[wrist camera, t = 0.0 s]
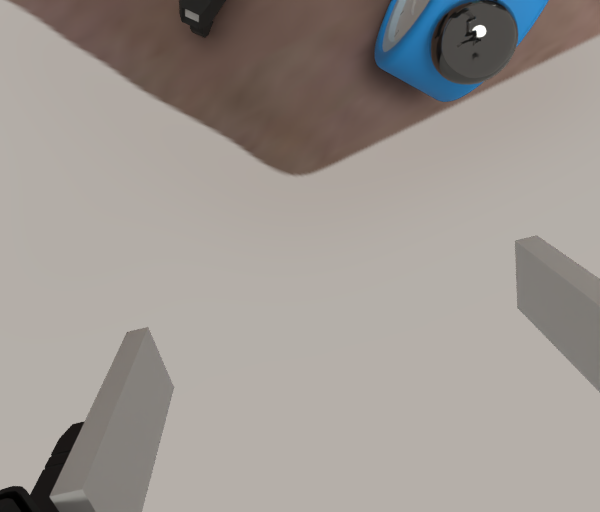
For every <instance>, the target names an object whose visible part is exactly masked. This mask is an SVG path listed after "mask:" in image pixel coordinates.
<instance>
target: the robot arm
mask: <svg viewBox="0 0 600 512" xmlns="http://www.w3.org/2000/svg"><path fill="white" fill-rule="evenodd" d="M515 254H516V280H517V307H518V309H519V310H520V311H521V312H522V313H523V314H524V315H525V316H526V317H527V318H528V319H529V320H530V321H531V322H532V323H533V324H534V325H535V326H536V327H537V328H538V329H539V330H540V331H541V332H542V333H543V334H544V335H545V336H546V338H547V339H548V340H549V341H551V343H552V344H553V345H554V346H555V347H556V348H557V349H558V350H559V351H560V352H561V353H562V354H563V355H564V356H565V357H566V358H567V359H568V360H569V361H570V362H571V363H572V364H573V365H574V366H575V367H576V368H577V369H578V370H579V371H580V372H581V374H582V375H583V376H585V378H586V379H587V380H588V381H589V382H590V383H591V384H592V385H593V386H594V387H595V388H596V389H597V390H598V391H599V392H600V279H599V278H598V277H596V276H595V275H593V274H592V273H590V272H589V271H587V270H586V269H584V268H583V267H581V266H580V265H579V264H577V263H576V262H574V261H573V260H572V259H570V258H569V257H567V256H566V255H564V254H563V253H561V252H560V251H558V250H557V249H556V248H554V247H553V246H551V245H550V244H548V243H547V242H545V241H544V240H543V239H541V238H540V237H538V236H533V237H529V238H524V239H520V240H516V241H515ZM173 389H174V386H173V384H172V382H171V379H170V377H169V375H168V372H167V370H166V368H165V365H164V363H163V361H162V358H161V357H160V354H159V351H158V349H157V347H156V345H155V342H154V340H153V338H152V335H151V333H150V331H149V328H148V327H147V328H143V329H138V330H134V331H130V332H127V333H126V336H125V338H124V340H123V342H122V344H121V346H120V348H119V351H118V352H117V355H116V357H115V359H114V361H113V363H112V365H111V367H110V369H109V372H108V374H107V376H106V378H105V380H104V382H103V384H102V386H101V388H100V391H99V393H98V395H97V397H96V399H95V401H94V403H93V405H92V407H91V409H90V412H89V414H88V416H87V418H86V420H85V422H80V423H76V424H73V425H72V426H71V427H70V428H69V429H68V430H67V431H66V432H65V433H64V435H62V436H61V438H60V439H59V440H58V442H57V444H56V446H55V448H54V450H53V452H52V454H51V455H52V456H51V457H50V458H49V460H48V462H47V464H46V465H45V470H43V471H42V473H41V475H40V477H39V479H38V481H37V483H36V485H35V487H34V489H33V490H32V492H31V494H30V495H29V494H28V492H27V491H26V490H25V489H24V488H23V487H20V486H12V487H8V488H5V489H2V490H0V512H142V509H143V505H144V501H145V497H146V494H147V490H148V486H149V481H150V478H151V474H152V470H153V466H154V463H155V458H156V455H157V451H158V447H159V443H160V439H161V436H162V432H163V428H164V424H165V420H166V416H167V412H168V408H169V405H170V401H171V397H172V393H173Z"/></svg>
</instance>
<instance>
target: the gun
mask: <svg viewBox="0 0 600 512" xmlns="http://www.w3.org/2000/svg"><path fill="white" fill-rule="evenodd" d="M225 1H226V0H179V9H180V17H181V21H182V22H184V23H186V24H188V25H190V29H191V31H192V32H193V33H195V34H198V35H200V36H202V37H204V38H205V37H207V36H208V34H209V31H210V29H211V26H212V23H213V21H212V20H213V19H214V17H215V16H216V14H217V13H218V11H219V10H220V8H221V7H222V5H223V4H224V2H225Z"/></svg>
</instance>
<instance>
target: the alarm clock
mask: <svg viewBox="0 0 600 512" xmlns="http://www.w3.org/2000/svg"><path fill="white" fill-rule="evenodd" d="M548 1H549V0H391V2H390V4H389V7H388V9H387V11H386V14H385V16H384V19H383V22H382V24H381V27H380V30H379V33H378V36H377V40H376V45H375V61H376V64H377V65H378V67H380V68H381V69H382V70H384V71H386V72H388V73H390V74H391V75H393V76H395V77H397V78H399V79H400V80H402V81H404V82H406V83H408V84H409V85H411V86H413V87H415V88H417V89H418V90H420V91H422V92H424V93H426V94H427V95H429V96H431V97H433V98H435V99H437V100H439V101H443V102H448V101H453V100H456V99H459V98H461V97H463V96H464V95H466V94H468V93H469V92H471V91H472V90H474V89H475V88H476V87H478V86H479V85H480V84H481V83H483V82H484V81H486V80H488V79H490V78H492V77H493V76H495V75H496V74H498V73H499V72H500V71H501V70H502V69H503V68H504V67H505V66H506V65H507V63H508V62H509V61H510V59H511V57H512V55H513V54H514V52H515V49H516V47H517V46H518V45H519V43H520V42H521V41H522V40H523V38H524V37H525V35H526V34H527V33H528V31H529V30H530V29H531V27H532V26H533V24H534V23H535V21H536V20H537V18H538V17H539V15H540V14H541V12H542V11H543V9H544V7H545V6H546V4H547V2H548Z"/></svg>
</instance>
